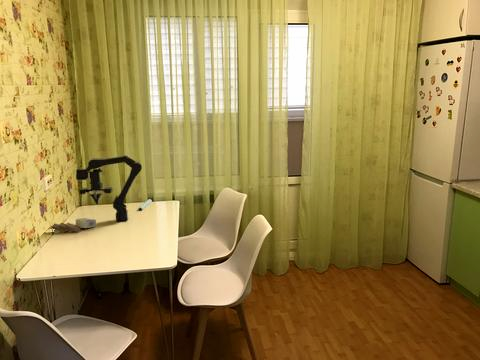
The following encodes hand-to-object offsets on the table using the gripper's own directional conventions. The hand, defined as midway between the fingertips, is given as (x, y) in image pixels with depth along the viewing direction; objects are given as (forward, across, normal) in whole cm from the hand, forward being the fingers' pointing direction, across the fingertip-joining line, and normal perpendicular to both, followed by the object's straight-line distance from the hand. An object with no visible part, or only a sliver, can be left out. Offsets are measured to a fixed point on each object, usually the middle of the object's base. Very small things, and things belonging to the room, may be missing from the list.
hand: (97, 204), depth 242 cm
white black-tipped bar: (+13, -22, -33) cm, 42 cm away
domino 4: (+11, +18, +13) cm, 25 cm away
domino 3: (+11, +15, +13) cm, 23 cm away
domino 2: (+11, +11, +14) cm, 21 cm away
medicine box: (+9, +2, +11) cm, 14 cm away
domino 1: (+11, +7, +14) cm, 20 cm away
